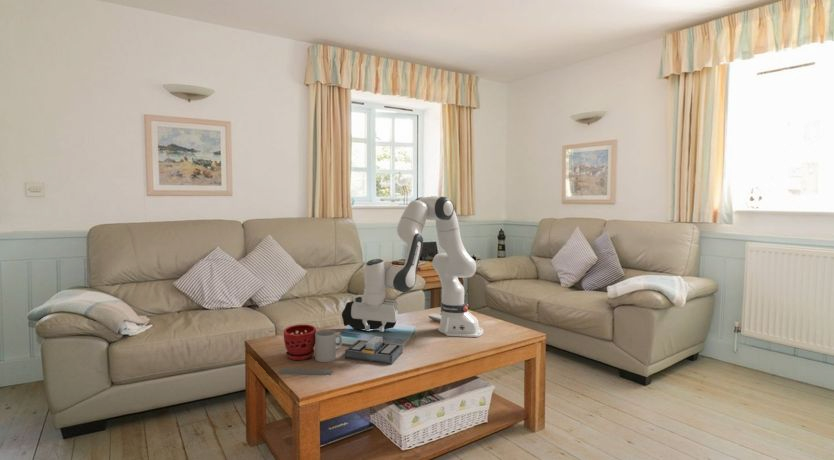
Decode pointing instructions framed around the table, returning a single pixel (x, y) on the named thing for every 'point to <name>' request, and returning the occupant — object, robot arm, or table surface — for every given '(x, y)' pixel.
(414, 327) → the table surface
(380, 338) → the grey rectangular block
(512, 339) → the table surface
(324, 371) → the half round rod
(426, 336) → the table surface
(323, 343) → the mug
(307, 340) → the plant pot
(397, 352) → the rack
